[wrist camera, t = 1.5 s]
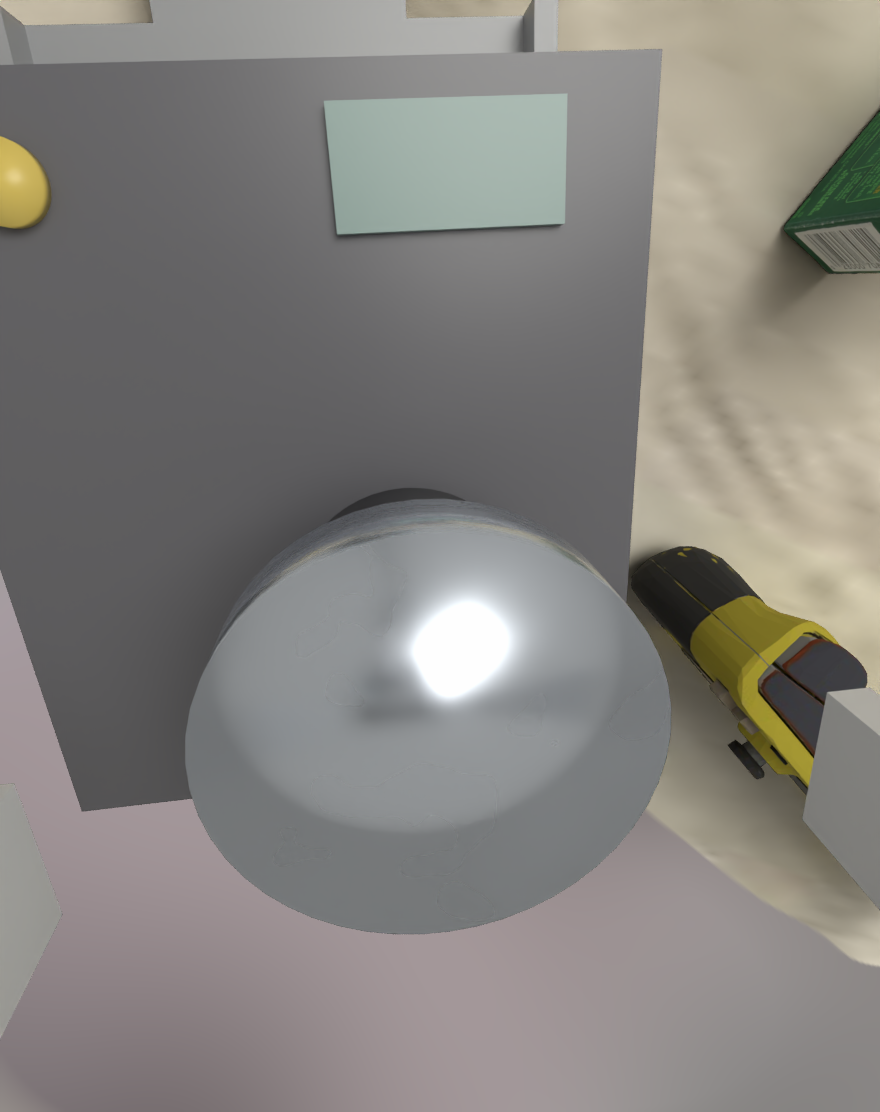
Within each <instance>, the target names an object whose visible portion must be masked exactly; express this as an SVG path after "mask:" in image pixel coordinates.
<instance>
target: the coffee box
mask: <svg viewBox="0 0 880 1112" xmlns="http://www.w3.org/2000/svg"><path fill="white" fill-rule="evenodd" d="M784 231H785V232H786V233H787V234H788V235H789V236H790V237H791V238H792V239H794V240H795V241H796V242H797V243H798V244H799V245H800V246H801V247H802V248H803V249H804V250H806V252H807V253H809V255H811V256H812V257H813V258H814V259H815V260H816V261H817V262H818V263H819V264H820V265H821V266H822V267H823V268H824V269H825V271H827V272H828V273H829V274H844V273H846V274H857V273H880V111H879V112H878V114H877V115H876V116H875V117H874V118H873V120H872V121H871V122H870V123H869V124H868V126H867V127H866V128H865V129H864V130H863V131H862V132H861V134H860V135H859V137H858V138H857V139H856V140H855V141H854V142H853V144H852V145H851V146H850V147H849V148H848V150H847V151H846V152H845V153H844V155H843V156H842V157H841V158H840V160H839V161H838V162H837V163H836V164H835V165H834V166H833V167H832V169H831V170H830V171H829V172H828V173H827V174H826V176H825V177H824V178H823V180H822V181H821V182H820V183H819V184H818V185H817V187H816V188H815V189H814V190H813V192H812V193H811V195H810V196H809V197H808V198H807V199H806V200H805V201H804V203H803V204H802V205H801V207H800V208H799V209H798V210H797V211H796V213H795V214H794V215H793V216H792V217H791V219H790V220H789V221H788V222H787V223H786V225H785V226H784Z"/></svg>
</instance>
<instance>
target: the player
mask: <svg viewBox="0 0 880 1112" xmlns="http://www.w3.org/2000/svg"><path fill="white" fill-rule="evenodd" d="M661 61H662V49H644V50H602V51H560V52H518V53H477V54H435V55H393V56H351V57H309V58H268V59H226V60H184V61H142V62H101V63H59V64H17V65H0V570H1V573H2V576H3V579H4V581H5V585H6V588H7V590H8V593H9V596H10V599H11V602H12V605H13V608H14V611H15V614H16V617H17V620H18V623H19V626H20V629H21V632H22V635H23V638H24V641H25V644H26V647H27V650H28V653H29V656H30V659H31V661H32V664H33V667H34V671H35V674H36V676H37V679H38V682H39V685H40V688H41V691H42V694H43V697H44V700H45V703H46V706H47V709H48V712H49V715H50V718H51V721H52V724H53V727H54V730H55V733H56V736H57V739H58V742H59V745H60V747H61V751H62V754H63V756H64V759H65V762H66V765H67V768H68V771H69V774H70V777H71V780H72V783H73V786H74V789H75V792H76V795H77V798H78V801H79V803H80V807H81V810H82V811H91V810H99V809H108V808H115V807H124V806H133V805H142V804H150V803H159V802H167V801H176V800H184V799H192V796H191V793H190V790H189V784H188V778H187V772H186V765H185V735H186V729H187V723H188V717H189V712H190V707H191V704H192V701H193V698H194V695H195V692H196V690H197V687H198V684H199V681H200V678H201V676H202V674H203V671H204V669H205V667H206V664H207V662H208V660H209V657H210V655H211V653H212V650H213V648H214V646H215V643H216V641H217V639H218V637H219V634H220V632H221V630H222V627H223V625H224V623H225V621H226V619H227V618H228V616H229V614H230V612H231V610H232V608H233V606H234V604H235V602H236V601H237V600H238V598H239V597H240V595H241V594H242V593H243V591H244V590H245V589H246V587H247V586H248V585H249V583H250V582H251V581H252V579H253V578H254V577H255V576H256V575H257V574H258V573H259V572H260V571H261V570H262V569H263V568H264V567H265V566H266V565H267V564H268V563H269V562H270V561H271V560H272V559H273V558H274V557H275V556H277V555H278V554H279V553H281V552H282V551H283V550H284V549H286V548H287V547H288V546H290V545H291V544H292V543H293V542H295V541H296V540H297V539H299V538H301V537H303V536H304V535H306V534H308V533H310V532H311V531H313V530H315V529H316V528H318V527H320V526H322V525H323V524H326V523H328V522H330V521H333V520H335V519H338V518H340V517H342V516H345V515H347V514H350V513H352V512H355V511H359V510H363V509H366V508H370V507H373V506H377V505H381V504H385V503H392V502H399V501H406V500H413V499H452V500H461V501H470V502H477V503H481V504H486V505H490V506H494V507H498V508H502V509H506V510H508V511H511V512H513V513H516V514H518V515H521V516H524V517H526V518H529V519H531V520H533V521H535V522H537V523H538V524H540V525H542V526H544V527H546V528H547V529H549V530H551V531H553V532H555V533H556V534H558V535H559V536H560V537H562V538H563V539H564V540H565V541H567V542H568V543H569V544H571V545H572V546H573V547H575V548H576V549H577V550H578V551H579V552H580V553H581V554H582V555H583V556H584V557H585V558H586V559H587V560H588V561H589V562H590V563H591V564H592V565H593V566H594V567H595V568H596V569H597V571H598V572H599V573H600V574H601V575H602V576H603V578H604V579H605V580H606V581H607V582H608V583H609V584H610V586H611V587H612V588H613V589H614V590H615V591H616V593H617V594H618V595H619V596H620V597H621V598H622V600H623V601H624V602H625V603H626V602H627V587H628V571H629V556H630V540H631V525H632V509H633V494H634V478H635V463H636V447H637V432H638V417H639V401H640V386H641V370H642V355H643V339H644V324H645V308H646V293H647V277H648V262H649V246H650V231H651V215H652V200H653V185H654V169H655V154H656V138H657V123H658V107H659V92H660V76H661Z"/></svg>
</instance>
